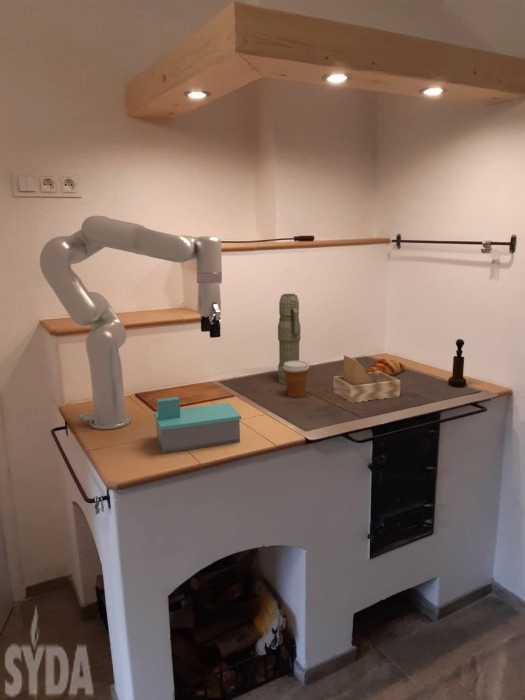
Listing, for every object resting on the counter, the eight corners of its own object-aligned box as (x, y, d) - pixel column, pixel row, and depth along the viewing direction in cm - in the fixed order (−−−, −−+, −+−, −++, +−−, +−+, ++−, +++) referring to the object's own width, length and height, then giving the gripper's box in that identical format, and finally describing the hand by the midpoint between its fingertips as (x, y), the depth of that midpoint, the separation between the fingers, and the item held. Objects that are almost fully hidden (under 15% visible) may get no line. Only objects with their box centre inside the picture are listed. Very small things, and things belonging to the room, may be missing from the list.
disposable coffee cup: (279, 397, 191) (279, 365, 189) (287, 390, 200) (287, 359, 197) (305, 400, 188) (305, 367, 185) (311, 392, 197) (312, 361, 194)
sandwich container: (391, 395, 192) (393, 355, 189) (355, 401, 187) (356, 360, 183) (378, 389, 200) (380, 350, 197) (342, 394, 195) (343, 354, 191)
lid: (161, 433, 143) (159, 407, 142) (154, 418, 155) (152, 394, 154) (241, 422, 151) (240, 397, 149) (228, 408, 163) (228, 385, 161)
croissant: (399, 376, 228) (394, 359, 230) (415, 370, 220) (410, 352, 221) (361, 383, 218) (356, 364, 220) (376, 377, 209) (371, 357, 211)
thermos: (289, 387, 203) (288, 296, 195) (271, 380, 212) (270, 293, 205) (307, 383, 207) (307, 295, 200) (289, 377, 217) (289, 292, 209)
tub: (163, 453, 145) (162, 429, 144) (157, 437, 156) (155, 415, 155) (240, 441, 152) (239, 419, 151) (228, 427, 163) (227, 406, 162)
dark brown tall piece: (451, 381, 207) (454, 336, 203) (468, 384, 204) (471, 338, 200) (445, 385, 202) (448, 339, 198) (463, 388, 198) (466, 341, 194)
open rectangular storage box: (351, 403, 184) (351, 386, 183) (333, 392, 197) (333, 376, 195) (399, 396, 190) (400, 380, 189) (379, 386, 203) (379, 371, 201)
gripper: (189, 276, 165) (191, 330, 169) (205, 281, 149) (206, 340, 153) (213, 275, 168) (214, 328, 172) (230, 280, 152) (231, 338, 156)
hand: (210, 334), depth 162 cm, fingers open, 9 cm apart
